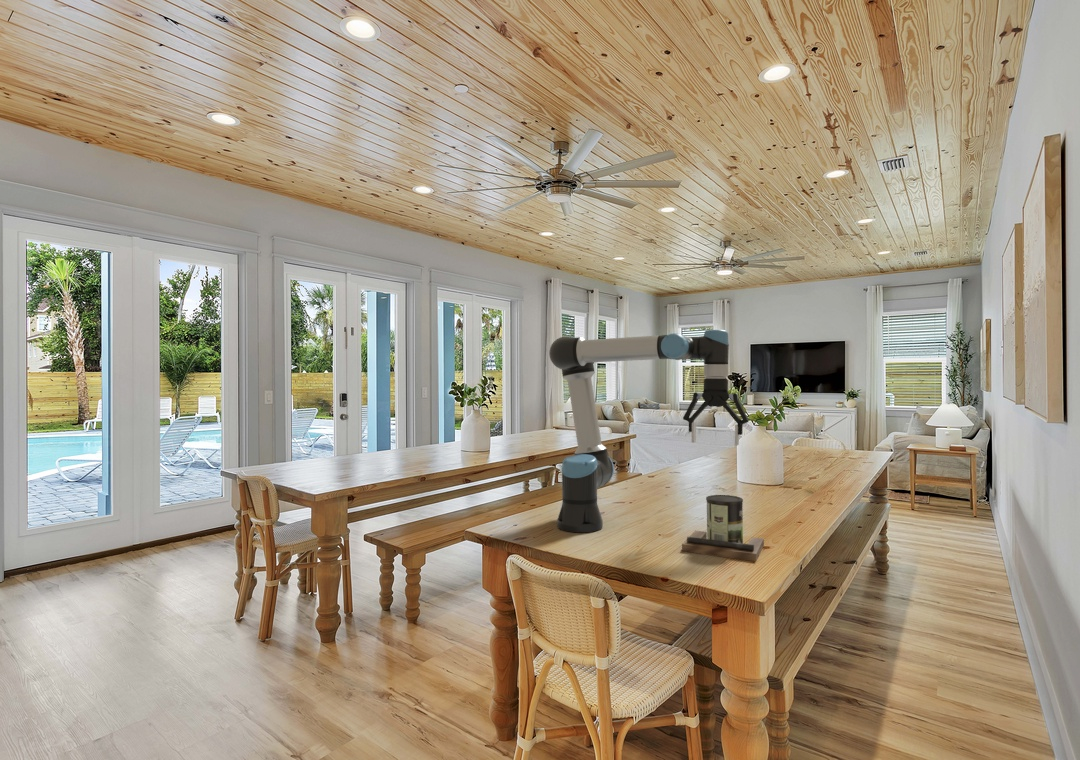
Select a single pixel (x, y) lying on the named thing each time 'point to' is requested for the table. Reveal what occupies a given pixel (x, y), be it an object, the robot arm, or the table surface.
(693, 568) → the table surface
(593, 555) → the table surface
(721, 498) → the coffee can
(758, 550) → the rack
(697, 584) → the table surface
